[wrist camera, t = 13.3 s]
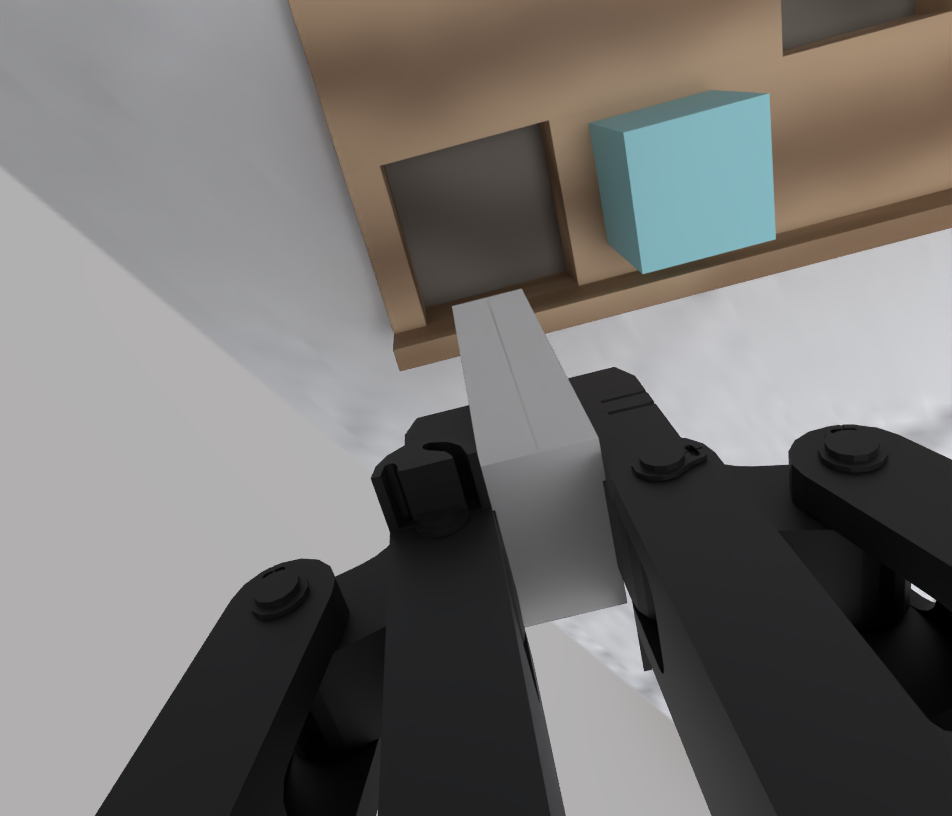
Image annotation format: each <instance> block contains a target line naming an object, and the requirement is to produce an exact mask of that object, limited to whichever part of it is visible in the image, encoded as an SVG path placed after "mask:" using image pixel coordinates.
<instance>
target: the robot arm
mask: <svg viewBox="0 0 952 816" xmlns="http://www.w3.org/2000/svg"><path fill="white" fill-rule="evenodd" d="M452 310H453V315H454V321H455V327H456V333H457V338H458V344H459V350H460V356H461V361H462V367H463V373H464V379H465V384H466V390H467V396H468V402H469V405H468V406H464V407H460V408H456V409H452V410H448V411H444V412H440V413H436V414H432V415H428V416H424V417H420V418H417V419H416V420H415V422H414V423H413V424H412V426H411V427H410V429H409V430H408V431H407V433H406V434H405V446H403V447H401V448H399V449H398V450H396V451H394V452H392V453H391V454H389V455H387V456H386V457H385V458H384V459H383V460H382V461H381V462H380V463H379V464H378V465H377V466H376V467H375V470H374V472H373V474H372V477H371V480H372V483H373V486H374V489H375V492H376V494H377V497H378V500H379V503H380V506H381V508H382V511H383V514H384V517H385V519H386V522H387V525H388V528H389V531H390V545H389V546H388V547H387V548H386V549H384V550H383V551H382V552H380V553H379V554H378V555H377V556H375V557H374V558H372V559H370V560H368V561H366V562H365V563H363V564H361V565H359V566H357V567H355V568H353V569H351V570H349V571H346V572H344V573H342V574H340V575H338V576H336V577H335V576H334V574H333V571H332V569H331V567H330V566H329V565H327V564H325V563H323V562H321V561H320V560H316V559H297V560H293V561H288V562H283V563H280V564H278V565H275V566H274V567H272V568H269V569H267V570H265V571H263V572H261V573H260V574H258V575H257V576H256V577H254V578H253V579H252V580H250V581H249V582H247V583H246V584H245V585H244V586H243V587H242V588H241V589H240V590H239V591H238V593H237V594H236V595H235V596H234V597H233V599H232V600H231V601H230V603H229V604H228V606H227V607H226V609H225V611H224V612H223V614H222V615H221V617H220V618H219V620H218V622H217V623H216V625H215V627H214V628H213V630H212V631H211V633H210V634H209V636H208V638H207V639H206V641H205V642H204V644H203V645H202V647H201V649H200V650H199V652H198V653H197V655H196V657H195V658H194V660H193V661H192V663H191V664H190V666H189V668H188V669H187V671H186V672H185V674H184V675H183V677H182V679H181V680H180V682H179V684H178V685H177V687H176V688H175V690H174V691H173V693H172V694H171V696H170V698H169V699H168V701H167V703H166V704H165V706H164V707H163V709H162V710H161V712H160V713H159V715H158V717H157V718H156V720H155V721H154V723H153V725H152V726H151V728H150V729H149V731H148V733H147V734H146V736H145V737H144V739H143V740H142V742H141V744H140V745H139V747H138V748H137V750H136V752H135V753H134V755H133V756H132V758H131V759H130V761H129V763H128V764H127V766H126V767H125V769H124V770H123V772H122V774H121V775H120V777H119V778H118V780H117V782H116V783H115V785H114V786H113V788H112V790H111V791H110V793H109V794H108V796H107V797H106V799H105V800H104V802H103V804H102V805H101V807H100V808H99V810H98V812H97V813H96V815H95V816H376V814H377V810H378V816H566V815H565V810H564V805H563V801H562V796H561V792H560V787H559V782H558V777H557V772H556V768H555V763H554V759H553V753H552V749H551V744H550V739H549V735H548V730H547V725H546V720H545V716H544V711H543V706H542V701H541V697H540V692H539V687H538V682H537V678H536V673H535V668H534V663H533V659H532V655H531V651H530V647H529V643H528V640H527V636H526V632H525V627H529V626H533V625H537V624H541V623H545V622H550V621H554V620H558V619H562V618H566V617H571V616H575V615H579V614H583V613H587V612H592V611H596V610H600V609H604V608H608V607H612V606H617V605H621V604H625V603H627V598H626V592H625V587H624V583H625V585H626V588H627V590H628V592H629V595H630V597H631V599H632V603H633V609H634V615H635V621H636V626H637V632H638V638H639V644H640V650H641V656H642V662H643V668H644V671H648V670H652V669H653V671H654V674H655V676H656V679H657V681H658V684H659V686H660V689H661V691H662V694H663V696H664V699H665V701H666V703H667V706H668V708H669V711H670V713H671V716H672V718H673V721H674V723H675V726H676V728H677V731H678V733H679V736H680V738H681V741H682V743H683V745H684V748H685V751H686V753H687V756H688V758H689V760H690V763H691V766H692V768H693V770H694V773H695V776H696V778H697V780H698V783H699V785H700V788H701V790H702V793H703V795H704V798H705V800H706V803H707V805H708V808H709V810H710V813H711V815H712V816H952V460H951V459H949V458H947V457H945V456H943V455H941V454H938V453H936V452H934V451H932V450H930V449H928V448H926V447H924V446H921V445H919V444H917V443H915V442H913V441H911V440H909V439H907V438H904V437H902V436H900V435H898V434H895V433H892V432H889V431H886V430H883V429H880V428H876V427H867V426H859V425H854V424H853V425H841V426H840V425H835V426H828V427H825V428H821V429H817V430H813V431H810V432H808V433H806V434H805V435H803V436H801V437H800V438H798V439H796V440H795V441H794V443H793V445H792V446H791V448H790V450H789V451H788V453H789V465H774V466H732V465H725V464H724V463H723V462H722V461H721V459H720V458H719V457H718V456H717V454H716V453H715V452H714V451H712V450H711V449H710V448H708V447H707V446H706V445H705V444H703V443H700V442H697V441H694V440H690V439H687V438H681V437H680V436H679V434H678V433H677V432H676V430H675V429H674V428H673V426H672V425H671V424H670V422H669V421H668V420H667V418H666V417H665V416H664V414H663V413H662V412H661V410H660V409H659V408H658V406H657V405H656V404H654V401H653V400H652V398H651V397H650V396H649V394H648V393H647V392H646V391H645V389H644V387H643V386H642V385H641V383H640V382H639V381H638V379H637V378H636V377H635V376H634V375H632V374H629V373H627V372H625V371H622V370H620V369H618V368H616V367H612V368H608V369H604V370H600V371H596V372H592V373H588V374H584V375H580V376H576V377H572V378H567V376H566V374H565V372H564V370H563V368H562V366H561V364H560V362H559V360H558V358H557V356H556V354H555V352H554V351H553V349H552V347H551V345H550V343H549V341H548V339H547V337H546V335H545V333H544V331H543V329H542V327H541V325H540V323H539V322H538V320H537V318H536V316H535V314H534V312H533V310H532V308H531V306H530V304H529V302H528V300H527V298H526V296H525V294H524V292H523V291H522V289H518V290H514V291H510V292H506V293H502V294H499V295H495V296H491V297H487V298H483V299H479V300H475V301H471V302H467V303H463V304H459V305H455V306H452ZM623 580H624V581H623ZM911 583H912V584H913V585H915V586H916V587H918V588H919V589H921V590H922V591H924V592H925V593H927V594H928V595H930V596H931V597H932V598H934V599H935V600H936V603H934V602H931V601H929V600H927V599H925V598H923V597H922V596H920V595H919V594H918V593H916V592H915V591H913V590H912V589H911Z"/></svg>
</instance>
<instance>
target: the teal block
mask: <svg viewBox="0 0 952 816" xmlns="http://www.w3.org/2000/svg"><path fill="white" fill-rule="evenodd" d="M589 127H590V134H591V140H592V146H593V153H594V159H595V166H596V172H597V178H598V185H599V191H600V197H601V204H602V210H603V217H604V223H605V229H606V236H607V242H608V245H610V246H611V247H612V248H613V249H614V250H615V251H616V252H618V253H619V254H620V255H621V256H622V257H623V258H625V259H626V260H627V261H628V262H629V263H630V264H631V265H633V266H634V267H635V268H636V269H637V270H638V271H640V272H641V273H642V274H646V273H649V272H653V271H657V270H661V269H665V268H668V267H672V266H676V265H680V264H684V263H687V262H691V261H695V260H699V259H703V258H706V257H710V256H714V255H718V254H722V253H725V252H729V251H733V250H737V249H741V248H744V247H748V246H752V245H756V244H760V243H763V242H767V241H771V240H775V239H776V230H775V207H774V185H773V162H772V139H771V117H770V94H769V93H755V92H737V91H719V90H709V91H705V92H702V93H698V94H694V95H691V96H687V97H683V98H679V99H676V100H672V101H668V102H665V103H661V104H657V105H654V106H650V107H646V108H643V109H639V110H635V111H631V112H628V113H624V114H620V115H617V116H613V117H609V118H606V119H602V120H598V121H594V122H591V123H589Z"/></svg>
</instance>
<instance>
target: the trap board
mask: <svg viewBox="0 0 952 816" xmlns="http://www.w3.org/2000/svg"><path fill="white" fill-rule="evenodd" d="M288 2H289V5H290V8H291V11H292V15H293V18H294V21H295V24H296V27H297V30H298V33H299V37H300V40H301V43H302V46H303V49H304V52H305V55H306V59H307V62H308V65H309V68H310V71H311V74H312V77H313V81H314V84H315V87H316V90H317V93H318V96H319V99H320V103H321V106H322V109H323V112H324V115H325V118H326V121H327V125H328V128H329V131H330V134H331V137H332V140H333V144H334V147H335V150H336V153H337V156H338V159H339V162H340V166H341V169H342V172H343V175H344V178H345V181H346V184H347V188H348V191H349V194H350V197H351V200H352V203H353V206H354V210H355V213H356V216H357V219H358V222H359V225H360V228H361V232H362V235H363V238H364V241H365V244H366V247H367V250H368V254H369V257H370V260H371V263H372V266H373V269H374V272H375V276H376V279H377V282H378V285H379V288H380V291H381V294H382V298H383V301H384V304H385V307H386V310H387V313H388V316H389V320H390V323H391V326H392V329H393V332H394V344H393V352H394V355H395V358H396V361H397V364H398V367H399V370H400V371H404V370H408V369H411V368H415V367H419V366H423V365H427V364H431V363H434V362H438V361H442V360H446V359H450V358H454V357H457V356H460V350H459V344H458V338H457V333H456V327H455V321H454V315H453V310H452V306H455V305H459V304H463V303H467V302H471V301H475V300H479V299H483V298H487V297H491V296H495V295H499V294H502V293H506V292H510V291H514V290H518V289H522V291H523V292H524V294H525V296H526V298H527V300H528V302H529V304H530V306H531V308H532V310H533V312H534V314H535V316H536V318H537V320H538V322H539V323H540V325H541V327H542V329H543V331H544V333H545V334H546V333H549V332H553V331H557V330H561V329H565V328H569V327H572V326H576V325H580V324H584V323H588V322H592V321H596V320H599V319H603V318H607V317H611V316H615V315H619V314H622V313H626V312H630V311H634V310H638V309H642V308H645V307H649V306H653V305H657V304H661V303H665V302H668V301H672V300H676V299H680V298H684V297H688V296H691V295H695V294H699V293H703V292H707V291H711V290H714V289H718V288H722V287H726V286H730V285H734V284H737V283H741V282H745V281H749V280H753V279H757V278H760V277H764V276H768V275H772V274H776V273H780V272H784V271H787V270H791V269H795V268H799V267H803V266H807V265H810V264H814V263H818V262H822V261H826V260H830V259H833V258H837V257H841V256H845V255H849V254H853V253H856V252H860V251H864V250H868V249H872V248H876V247H879V246H883V245H887V244H891V243H895V242H899V241H902V240H906V239H910V238H914V237H918V236H922V235H925V234H929V233H933V232H937V231H941V230H945V229H949V228H952V0H288ZM709 90H719V91H737V92H755V93H769V94H770V117H771V139H772V162H773V185H774V207H775V230H776V239H775V240H771V241H767V242H763V243H760V244H756V245H752V246H748V247H744V248H741V249H737V250H733V251H729V252H725V253H722V254H718V255H714V256H710V257H706V258H703V259H699V260H695V261H691V262H687V263H684V264H680V265H676V266H672V267H668V268H665V269H661V270H657V271H653V272H649V273H646V274H642V273H641V272H640V271H638V270H637V269H636V268H635V267H634V266H633V265H631V264H630V263H629V262H628V261H627V260H626V259H625V258H623V257H622V256H621V255H620V254H619V253H618V252H616V251H615V250H614V249H613V248H612V247H611V246H610V245H608V242H607V236H606V229H605V223H604V217H603V210H602V204H601V197H600V191H599V185H598V178H597V172H596V166H595V159H594V153H593V146H592V140H591V134H590V127H589V123H591V122H594V121H598V120H602V119H606V118H609V117H613V116H617V115H620V114H624V113H628V112H631V111H635V110H639V109H643V108H646V107H650V106H654V105H657V104H661V103H665V102H668V101H672V100H676V99H679V98H683V97H687V96H691V95H694V94H698V93H702V92H705V91H709Z"/></svg>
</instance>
